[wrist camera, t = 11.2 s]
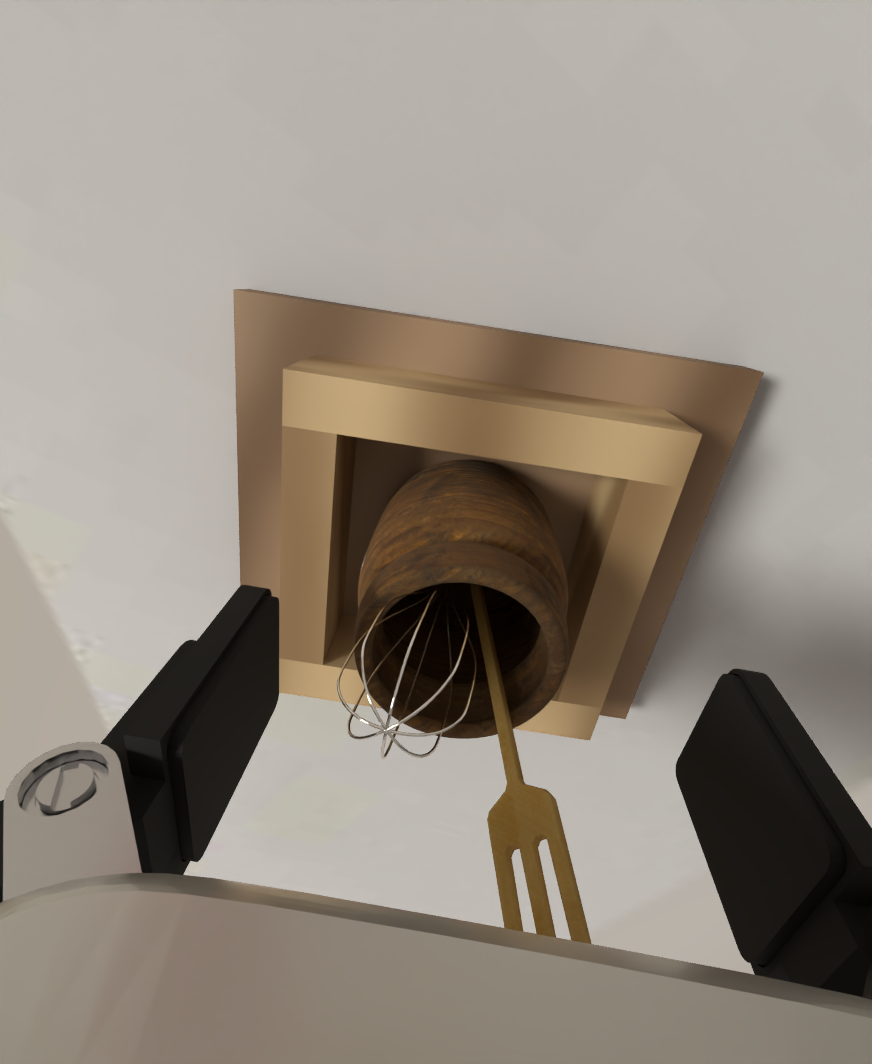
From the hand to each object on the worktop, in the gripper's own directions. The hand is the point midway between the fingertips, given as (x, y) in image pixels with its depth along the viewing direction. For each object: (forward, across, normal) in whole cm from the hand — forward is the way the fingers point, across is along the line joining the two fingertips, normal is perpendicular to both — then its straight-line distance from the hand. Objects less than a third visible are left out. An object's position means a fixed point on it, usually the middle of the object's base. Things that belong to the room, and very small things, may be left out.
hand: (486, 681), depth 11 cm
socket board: (+9, +1, +1) cm, 9 cm away
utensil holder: (+8, +1, +1) cm, 8 cm away
